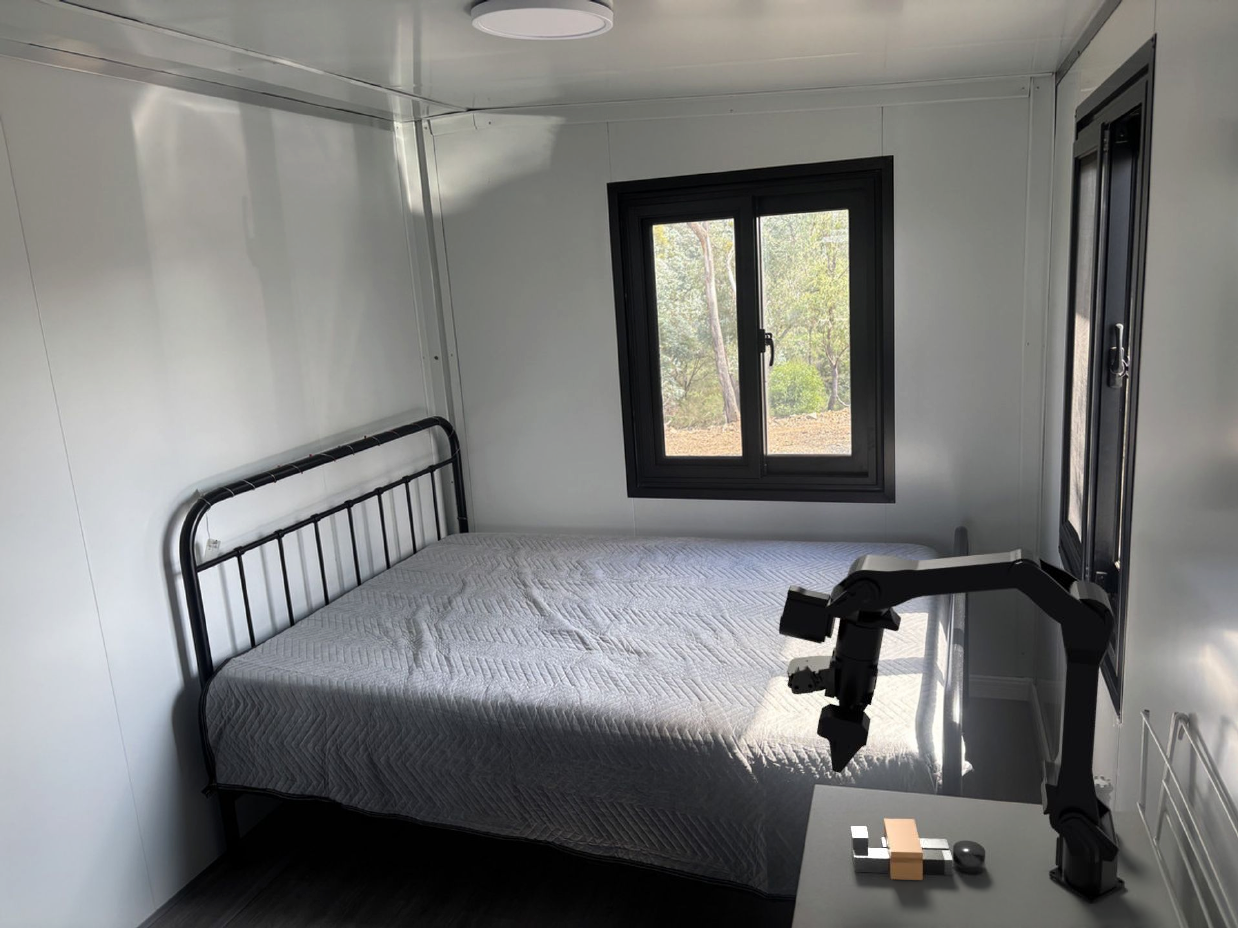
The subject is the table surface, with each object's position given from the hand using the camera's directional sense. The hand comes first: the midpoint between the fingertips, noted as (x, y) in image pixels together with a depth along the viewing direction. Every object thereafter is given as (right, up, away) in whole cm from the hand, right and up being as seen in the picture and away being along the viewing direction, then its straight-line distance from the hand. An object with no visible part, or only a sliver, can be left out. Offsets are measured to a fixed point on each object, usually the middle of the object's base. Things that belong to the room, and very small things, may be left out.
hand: (840, 752), depth 130 cm
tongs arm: (+8, -14, -2) cm, 16 cm away
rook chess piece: (+36, -11, +2) cm, 38 cm away
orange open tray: (+8, -14, -2) cm, 16 cm away
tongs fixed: (+12, -14, -2) cm, 19 cm away
